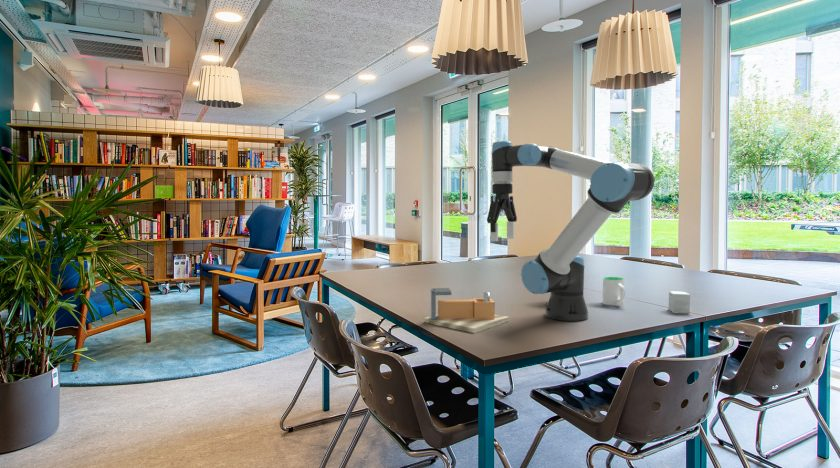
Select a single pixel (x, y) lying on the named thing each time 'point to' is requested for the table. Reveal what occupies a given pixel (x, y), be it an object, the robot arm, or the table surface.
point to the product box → (679, 302)
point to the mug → (613, 291)
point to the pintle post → (486, 296)
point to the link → (466, 309)
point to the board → (468, 323)
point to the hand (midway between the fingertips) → (502, 239)
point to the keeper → (433, 299)
